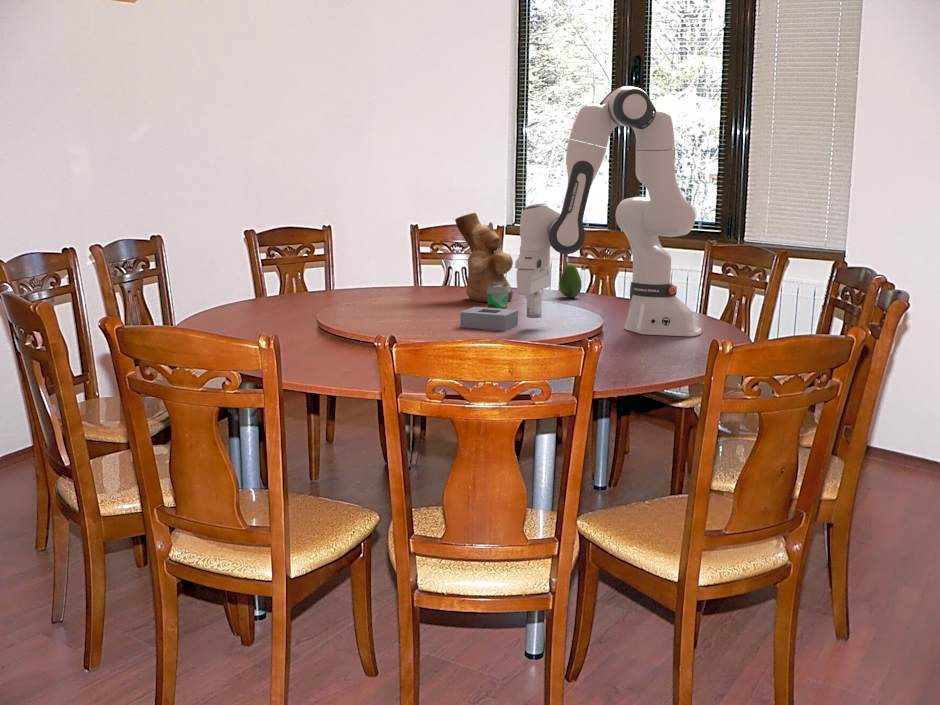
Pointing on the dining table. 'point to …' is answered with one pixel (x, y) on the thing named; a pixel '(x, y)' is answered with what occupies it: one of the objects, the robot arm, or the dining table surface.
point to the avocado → (570, 282)
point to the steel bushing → (536, 306)
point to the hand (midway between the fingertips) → (534, 306)
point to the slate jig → (489, 318)
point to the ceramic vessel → (483, 257)
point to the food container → (498, 295)
